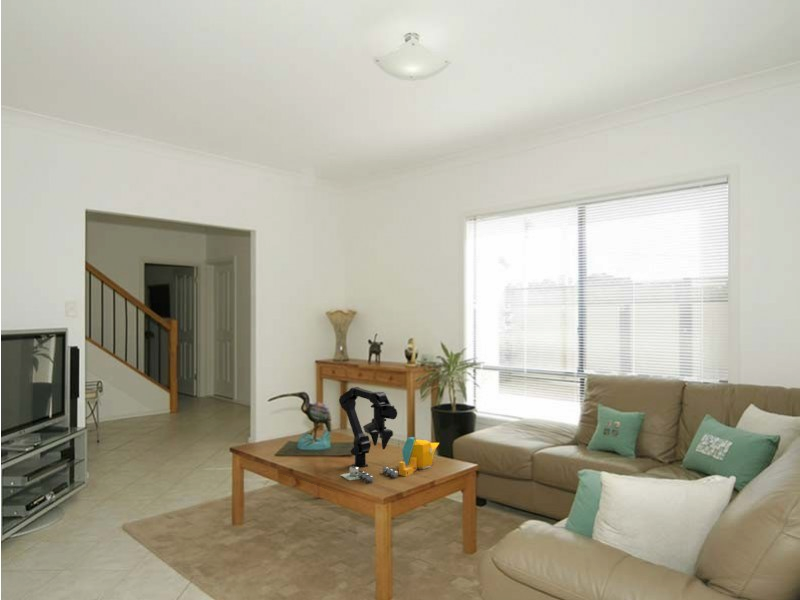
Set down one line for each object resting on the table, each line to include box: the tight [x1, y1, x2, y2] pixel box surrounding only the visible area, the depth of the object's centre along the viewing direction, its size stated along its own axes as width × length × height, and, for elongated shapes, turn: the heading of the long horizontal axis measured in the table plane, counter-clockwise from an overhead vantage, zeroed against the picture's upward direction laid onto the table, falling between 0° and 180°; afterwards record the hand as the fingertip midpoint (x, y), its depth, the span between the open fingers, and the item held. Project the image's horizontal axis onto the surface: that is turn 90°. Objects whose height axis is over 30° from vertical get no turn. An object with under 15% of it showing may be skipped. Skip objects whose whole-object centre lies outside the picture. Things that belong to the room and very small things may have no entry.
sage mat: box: [340, 472, 361, 482], centre depth 278 cm, size 10×10×1 cm
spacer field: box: [358, 466, 398, 484], centre depth 276 cm, size 11×17×3 cm, turn 122°
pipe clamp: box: [398, 457, 418, 477], centre depth 284 cm, size 12×4×6 cm, turn 144°
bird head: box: [401, 436, 440, 470], centre depth 299 cm, size 14×26×16 cm, turn 133°
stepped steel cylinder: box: [349, 465, 359, 477], centre depth 278 cm, size 4×4×4 cm
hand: (379, 447), depth 288 cm, fingers open, 9 cm apart
